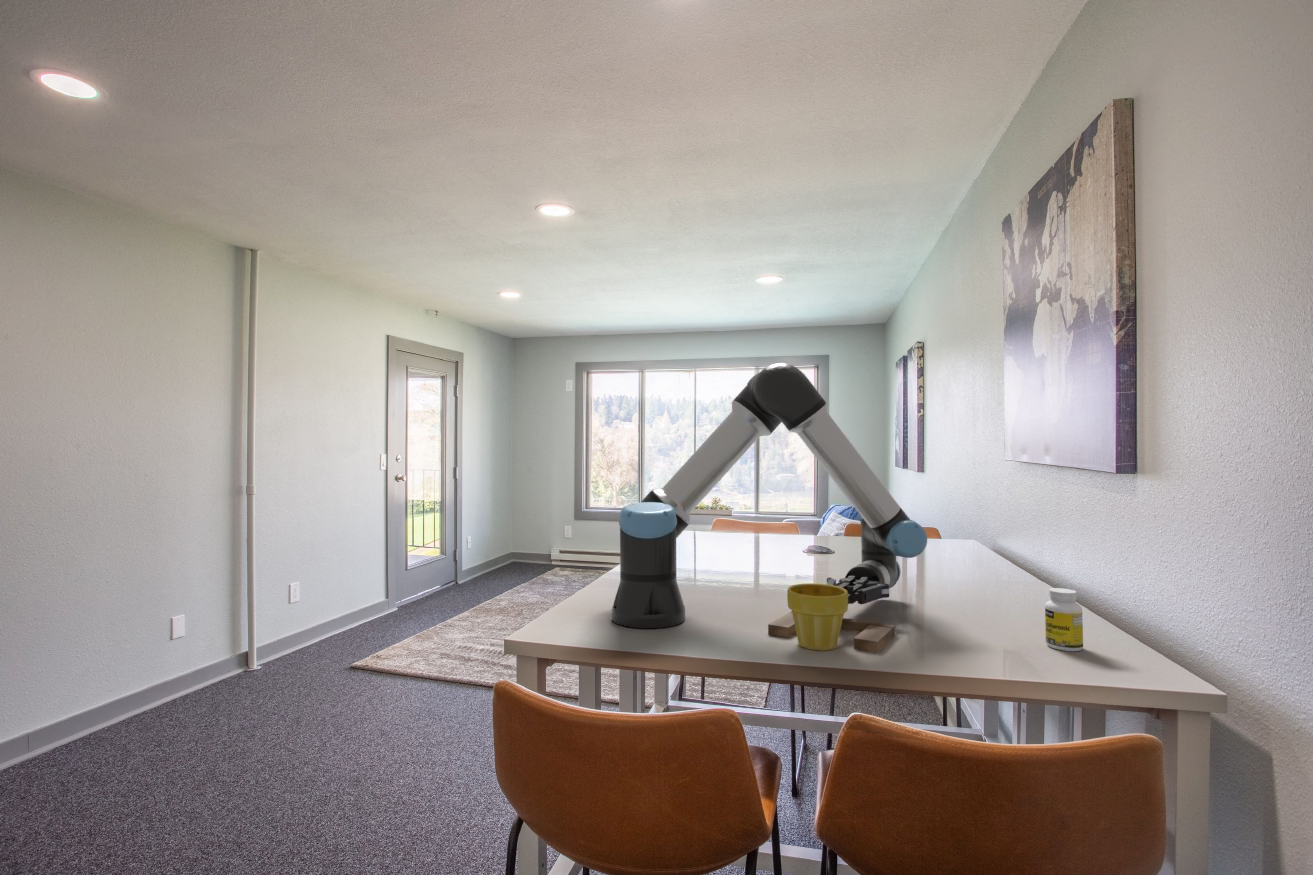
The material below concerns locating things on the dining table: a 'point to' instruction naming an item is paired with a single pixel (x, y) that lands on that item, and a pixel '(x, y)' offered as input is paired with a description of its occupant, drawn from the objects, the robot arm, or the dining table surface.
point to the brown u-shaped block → (868, 639)
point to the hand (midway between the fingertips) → (831, 602)
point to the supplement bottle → (1063, 620)
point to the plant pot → (817, 614)
